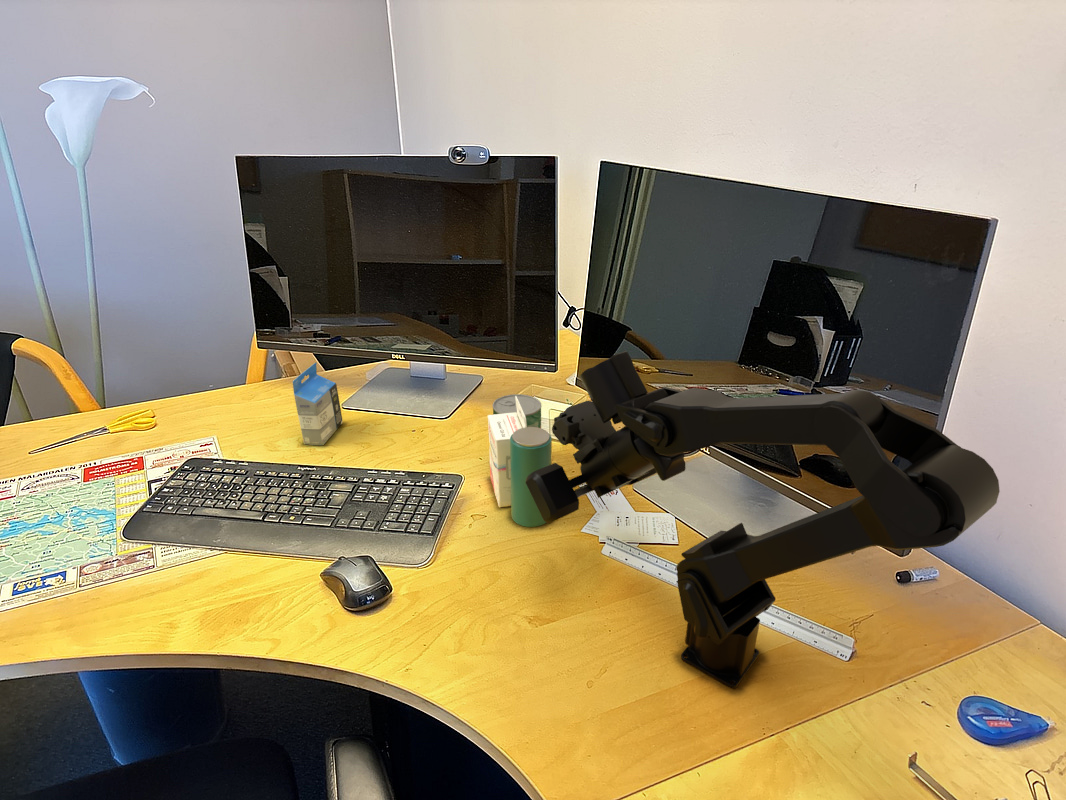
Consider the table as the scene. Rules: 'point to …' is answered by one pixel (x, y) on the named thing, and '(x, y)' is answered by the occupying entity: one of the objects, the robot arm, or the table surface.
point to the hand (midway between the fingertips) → (565, 493)
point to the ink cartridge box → (503, 451)
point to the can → (527, 471)
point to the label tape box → (317, 406)
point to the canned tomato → (527, 403)
